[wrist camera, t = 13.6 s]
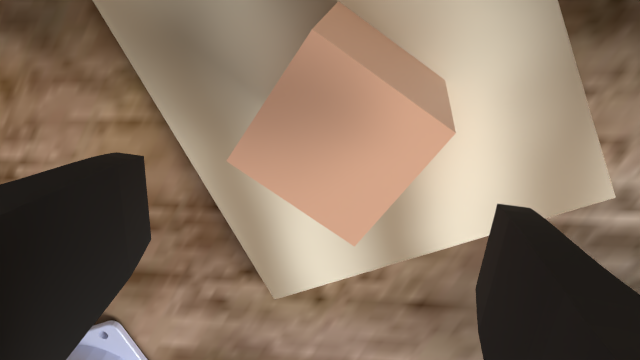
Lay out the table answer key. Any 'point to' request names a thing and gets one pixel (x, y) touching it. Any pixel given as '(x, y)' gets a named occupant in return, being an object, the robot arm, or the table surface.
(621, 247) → the table surface
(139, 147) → the table surface
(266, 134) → the salmon pink cube
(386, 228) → the post board
